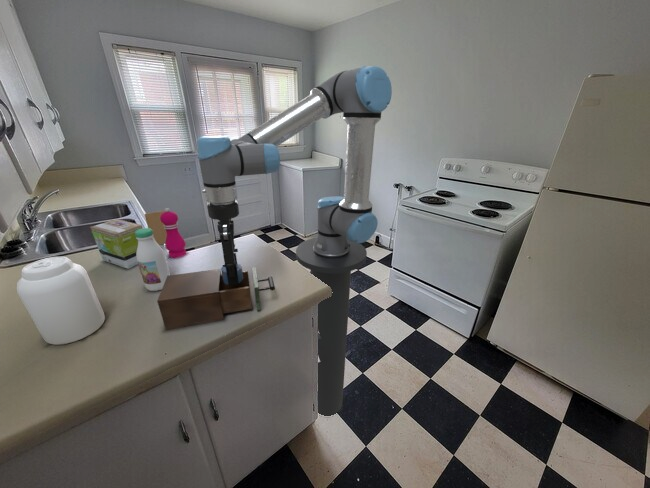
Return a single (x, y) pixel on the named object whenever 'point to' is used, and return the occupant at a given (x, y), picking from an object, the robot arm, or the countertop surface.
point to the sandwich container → (156, 226)
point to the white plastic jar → (60, 300)
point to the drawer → (241, 293)
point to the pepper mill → (173, 234)
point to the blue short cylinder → (239, 272)
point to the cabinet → (191, 299)
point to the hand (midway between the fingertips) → (233, 278)
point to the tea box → (117, 242)
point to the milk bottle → (151, 260)
